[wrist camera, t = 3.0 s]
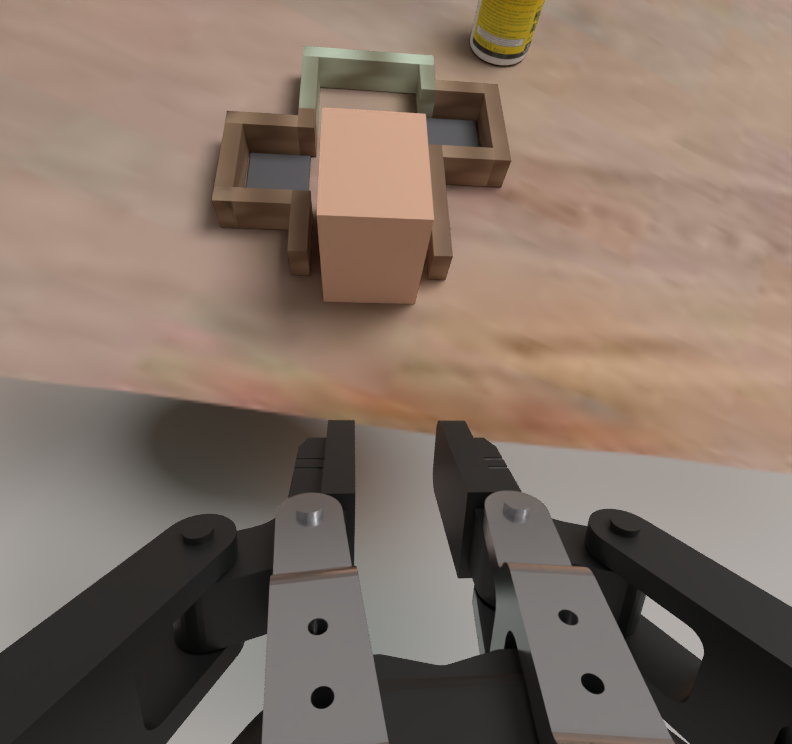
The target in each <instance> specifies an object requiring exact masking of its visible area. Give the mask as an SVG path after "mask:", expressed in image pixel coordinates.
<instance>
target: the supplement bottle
mask: <svg viewBox="0 0 792 744" xmlns="http://www.w3.org/2000/svg"><path fill="white" fill-rule="evenodd" d="M544 1H545V0H479V2H478V6H477V11H476V15H475V19H474V24H473V28H472V32H471V38H470V45H471V48H472V50H473V51H474V53H475V54H476V55H477V56H478V57H480V58H481V59H482V60H484V61H486V62H489V63H492V64H496V65H512V64H516V63H518V62H520V61H521V60H522V59H523V58H524V57H525V56H526V53H527V51H528V49H529V46H530V43H531V40H532V37H533V34H534V31H535V28H536V25H537V22H538V19H539V16H540V13H541V10H542V7H543V4H544Z"/></svg>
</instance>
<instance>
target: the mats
mask: <svg viewBox="0 0 792 744" xmlns="http://www.w3.org/2000/svg"><path fill="white" fill-rule="evenodd" d="M426 124H427V136H428V144H433V145H451V146H468V147H479V144H478V137H477V130H476V123H475V121H468V120H452V119H437V118H426ZM310 162H311V156H303V155H285V154H266V153H251V156H250V164H249V171H248V179H247V186H246V188H263V189H284V190H305V191H309V178H310Z"/></svg>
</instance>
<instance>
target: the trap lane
mask: <svg viewBox="0 0 792 744" xmlns="http://www.w3.org/2000/svg"><path fill="white" fill-rule="evenodd" d="M320 87H327V88H342V89H357V90H372V91H387V92H401V93H416V108H417V113H421V114H426V118H437V119H452V120H468V121H476V122H477V126H478V133H479V140H480V147H468V146H451V145H433V144H428V149H429V161H430V174H431V187H432V199H433V212H434V223H433V227H432V231H431V236H430V240H429V244H428V249H427V253H426V255H427V269H428V279H443V280H446V276H447V273H448V270H449V267H450V263H451V260H452V257H453V255H452V244H451V234H450V223H449V213H448V203H447V192H446V184H450V185H470V186H490V187H501V186H502V184H503V181H504V178H505V176H506V173H507V170H508V168H509V165H510V163H511V157H510V151H509V145H508V140H507V134H506V129H505V123H504V117H503V112H502V106H501V100H500V95H499V89H498V84H487V83H473V82H458V81H444V80H436V78H435V67H434V57H433V56H430V55H417V54H404V53H390V52H377V51H364V50H350V49H337V48H323V47H310V46H304V49H303V61H302V74H301V86H300V98H299V111H298V115H286V114H270V113H254V112H238V111H227V114H226V120H225V126H224V132H223V137H222V143H221V149H220V155H219V161H218V166H217V172H216V178H215V184H214V190H213V196H212V203H213V205H214V208H215V211H216V214H217V217H218V220H219V223H220V226H221V227H232V228H257V229H283V230H289V233H288V245H287V253H288V259H289V264H290V270H291V275H310V259H311V241H312V223H313V214H312V203H311V192H310V191H305V190H284V189H263V188H244V186H245V179H246V171H247V164H248V157H249V153H266V154H285V155H303V156H316V151H317V133H318V115H319V97H320Z"/></svg>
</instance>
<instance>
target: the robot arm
mask: <svg viewBox="0 0 792 744" xmlns="http://www.w3.org/2000/svg"><path fill="white" fill-rule="evenodd" d="M354 429H355V422H354V420H328V428H327V438H308V439H307V440H306V441H305V442H304V443H303V444H302V445H301V446H299V449H298V453H297V458H296V462H295V468H294V472H293V477H292V481H291V486H290V491H289V496H288V499H287V500H285V501H284V502H282V503H281V504H280V506H279V507H278V508H277V511H276V517H275V518H274V519H273V520H271V521H269V522H267V523H265V524H262V525H259V526H256V527H253V528H248V529H243V530H239V531H237V530H236V526H235V524H234V522H233V521H232V520H230V519H228V518H227V517H224V516H222V515H217V514H202V515H196V516H192V517H188V518H186V519H183V520H181V521H179V522H177V523H175V524H174V525H172V526H171V527H169V528H168V529H167V530H165V531H164V532H163V533H161V534H160V535H159V536H157V537H156V538H155V539H153V540H152V541H151V542H149V543H148V544H147V545H145V546H144V547H142V548H141V549H140V550H138V551H137V552H136V553H134V554H133V555H132V556H130V557H129V558H128V559H126V560H125V561H124V562H122V563H121V564H120V565H118V566H117V567H116V568H114V569H113V570H112V571H110V572H109V573H108V574H106V575H105V576H103V577H102V578H101V579H99V580H98V581H97V582H96V583H94V584H93V585H91V586H90V587H89V588H87V589H86V590H85V591H83V592H82V593H81V594H79V595H78V596H76V597H75V598H74V599H72V600H71V601H70V602H68V603H67V604H66V605H64V606H63V607H62V608H60V609H59V610H58V611H56V612H55V613H54V614H52V615H51V616H50V617H48V618H47V619H45V620H44V621H43V622H41V623H40V624H39V625H38V626H36V627H35V628H33V629H32V630H31V631H29V632H28V633H27V634H25V635H24V636H23V637H21V638H20V639H19V640H17V641H16V642H14V643H13V644H12V645H10V646H9V647H8V648H6V649H5V650H4V651H2V652H1V653H0V744H166V743H167V742H168V741H169V739H170V738H171V737H172V736H173V734H174V733H175V732H176V731H177V729H178V728H179V727H180V726H181V725H182V723H183V722H184V721H185V720H186V718H187V717H188V716H189V715H190V713H191V712H192V711H193V710H194V709H195V707H196V706H197V705H198V704H199V702H200V701H201V700H202V699H203V697H204V696H205V695H206V694H207V693H208V691H209V690H210V689H211V687H212V686H213V685H214V684H215V683H216V681H217V680H218V679H219V678H220V676H221V675H222V674H223V673H224V672H225V670H226V669H227V668H228V667H229V665H230V664H231V663H232V662H233V661H234V659H235V658H236V657H237V656H238V654H239V653H240V651H241V649H242V648H243V645H244V642H245V641H247V640H249V639H252V638H256V637H259V636H262V635H265V634H267V648H266V649H267V650H266V669H265V688H264V690H265V691H264V708H263V710H262V711H261V712H260V713H259V714H258V715H257V716H256V717H255V718H254V719H253V720H252V721H251V722H250V723H249V724H248V725H247V726H246V728H245V729H244V730H243V731H242V732H241V733H240V734H239V736H238V737H237V738H236V739H235V740H234V741H233V742H232V744H687V743H686V742H684V741H683V740H682V739H680V738H679V737H678V736H677V735H675V734H674V733H673V732H671V731H670V730H669V729H667V728H666V726H665V724H664V721H663V719H664V720H665V721H666V722H667V723H668V724H669V725H670V726H671V727H672V728H674V729H675V730H676V731H677V732H678V733H679V734H680V735H681V736H682V737H683V738H685V739H686V740H687V741H688V742H689V743H690V744H792V607H791V606H789V605H787V604H785V603H784V602H782V601H781V600H779V599H777V598H775V597H774V596H772V595H770V594H769V593H767V592H765V591H764V590H762V589H760V588H759V587H757V586H755V585H754V584H752V583H750V582H749V581H747V580H745V579H743V578H742V577H740V576H738V575H737V574H735V573H733V572H732V571H730V570H728V569H727V568H725V567H723V566H722V565H720V564H718V563H717V562H715V561H713V560H712V559H710V558H708V557H706V556H705V555H703V554H701V553H700V552H698V551H696V550H695V549H693V548H691V547H690V546H688V545H686V544H685V543H683V542H681V541H680V540H678V539H676V538H675V537H672V536H671V535H669V534H668V533H666V532H664V531H663V530H661V529H659V528H658V527H656V526H654V525H653V524H651V523H649V522H648V521H646V520H644V519H642V518H640V517H638V516H636V515H634V514H632V513H629V512H626V511H622V510H616V509H602V510H598V511H596V512H594V513H592V514H591V515H590V518H589V521H588V526H583V525H578V524H573V523H568V522H563V521H559V520H555V519H552V518H551V516H550V513H549V511H548V509H547V507H546V506H545V505H544V504H543V503H542V502H541V501H540V500H538V499H537V498H535V497H533V496H531V495H528V494H525V493H522V492H521V490H520V488H519V486H518V485H517V483H516V481H515V479H514V478H513V476H512V474H511V472H510V470H509V469H508V468H507V465H506V463H505V462H504V460H503V459H502V456H501V455H500V453H499V451H498V449H497V448H496V446H494V445H493V444H491V443H490V442H489V441H487V440H486V439H485V438H473V436H472V434H471V432H470V430H469V428H468V426H467V424H466V422H465V421H438V423H437V428H436V440H435V452H434V464H433V486H434V493H435V496H436V500H437V504H438V507H439V511H440V514H441V518H442V522H443V525H444V529H445V533H446V536H447V540H448V544H449V547H450V551H451V555H452V558H453V562H454V566H455V569H456V572H457V576H458V578H473V582H474V592H473V600H472V604H473V611H474V617H475V625H476V632H477V639H478V646H479V652H480V655H478V656H474V657H471V658H468V659H465V660H462V661H458V662H455V663H452V664H448V665H433V664H428V663H423V662H418V661H413V660H408V659H402V658H397V657H392V656H387V655H381V654H377V655H373V653H372V647H371V642H370V637H369V631H368V625H367V619H366V614H365V609H364V603H363V597H362V592H361V586H360V580H359V575H358V570H357V567H356V566H354V533H355V430H354ZM646 595H647V596H648V597H650V598H651V599H652V600H654V601H655V602H657V603H658V604H659V605H661V606H662V607H663V608H665V609H666V610H668V611H669V612H670V613H672V614H673V615H674V616H676V617H677V618H679V619H680V620H681V621H683V622H684V623H685V624H687V625H688V626H689V627H691V628H692V629H693V630H694V631H695V632H696V634H697V635H698V636H699V638H700V640H701V642H702V644H703V647H704V656H703V659H702V661H701V660H700V659H699V658H697V657H696V656H695V655H694V654H692V653H691V652H690V651H688V650H687V649H685V648H684V647H683V646H682V645H680V644H679V643H678V642H677V641H675V640H674V639H673V638H671V637H670V636H669V635H667V634H666V633H665V632H663V631H662V630H661V629H659V628H658V627H657V626H656V625H654V624H653V623H652V622H650V621H649V620H648V619H646V618H645V617H643V616H642V615H641V611H642V607H643V604H644V600H645V596H646ZM662 718H663V719H662Z"/></svg>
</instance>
